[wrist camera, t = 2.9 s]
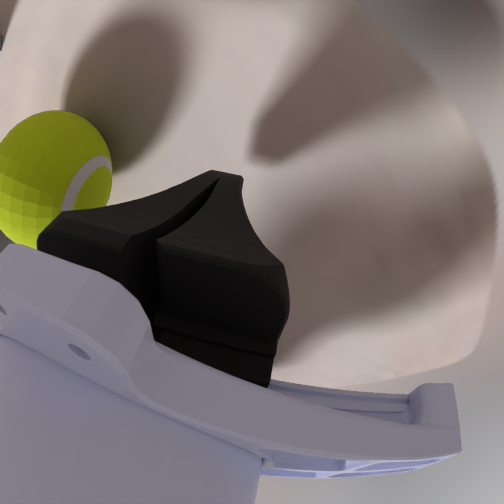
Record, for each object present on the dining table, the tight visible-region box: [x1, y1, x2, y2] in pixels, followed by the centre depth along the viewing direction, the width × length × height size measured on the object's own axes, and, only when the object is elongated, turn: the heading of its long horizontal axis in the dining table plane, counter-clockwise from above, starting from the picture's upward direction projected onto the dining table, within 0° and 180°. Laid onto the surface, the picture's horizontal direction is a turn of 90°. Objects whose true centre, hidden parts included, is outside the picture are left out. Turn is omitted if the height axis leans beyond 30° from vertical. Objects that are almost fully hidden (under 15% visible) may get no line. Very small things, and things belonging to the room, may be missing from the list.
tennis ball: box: [0, 110, 112, 250], centre depth 10 cm, size 7×7×7 cm
